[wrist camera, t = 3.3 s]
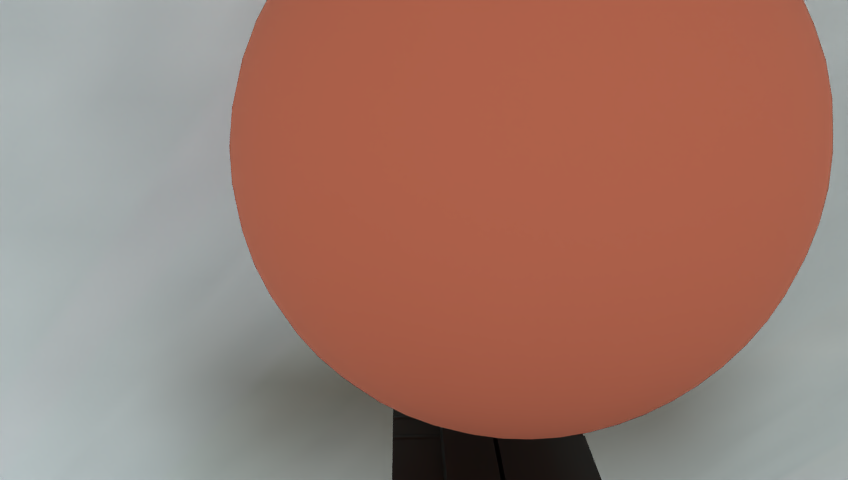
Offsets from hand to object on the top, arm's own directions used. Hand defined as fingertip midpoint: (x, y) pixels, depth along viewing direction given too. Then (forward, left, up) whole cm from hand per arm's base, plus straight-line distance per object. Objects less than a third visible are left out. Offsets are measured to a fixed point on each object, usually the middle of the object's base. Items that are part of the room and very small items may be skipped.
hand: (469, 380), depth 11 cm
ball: (-5, 0, +2) cm, 5 cm away
